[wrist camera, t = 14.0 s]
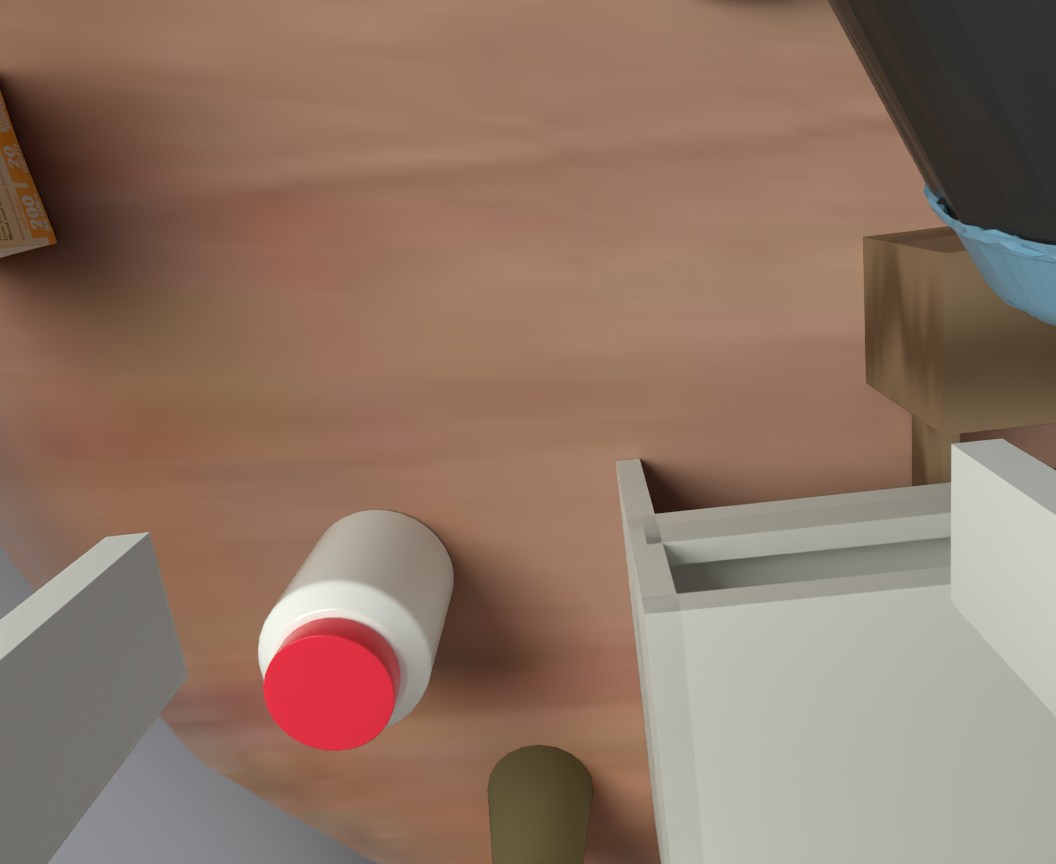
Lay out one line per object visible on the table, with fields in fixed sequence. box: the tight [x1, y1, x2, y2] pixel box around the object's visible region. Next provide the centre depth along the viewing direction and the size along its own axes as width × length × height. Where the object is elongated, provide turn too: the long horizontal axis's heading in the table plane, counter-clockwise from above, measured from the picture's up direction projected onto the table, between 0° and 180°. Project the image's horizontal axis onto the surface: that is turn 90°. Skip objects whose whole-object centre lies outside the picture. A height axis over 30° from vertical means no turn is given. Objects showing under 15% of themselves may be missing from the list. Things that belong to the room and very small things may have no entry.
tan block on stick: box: [863, 226, 1056, 486], centre depth 38 cm, size 19×5×9 cm, turn 7°
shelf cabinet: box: [616, 459, 1056, 864], centre depth 38 cm, size 22×16×16 cm
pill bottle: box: [258, 510, 454, 751], centre depth 41 cm, size 8×8×11 cm
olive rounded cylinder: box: [488, 745, 593, 864], centre depth 44 cm, size 6×6×11 cm
